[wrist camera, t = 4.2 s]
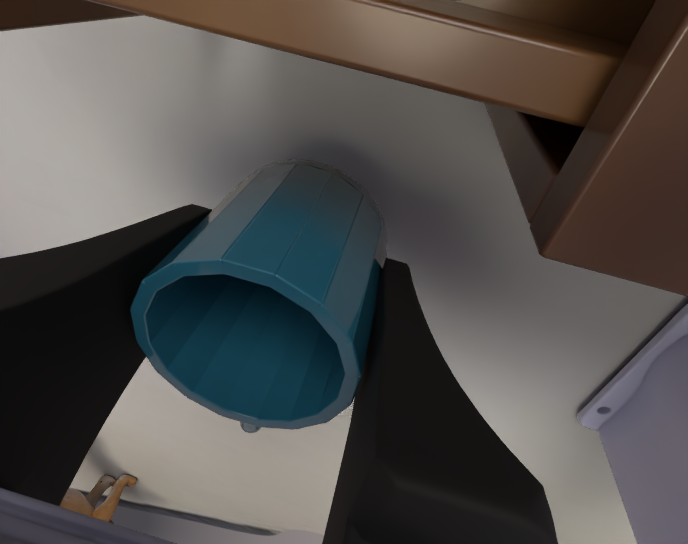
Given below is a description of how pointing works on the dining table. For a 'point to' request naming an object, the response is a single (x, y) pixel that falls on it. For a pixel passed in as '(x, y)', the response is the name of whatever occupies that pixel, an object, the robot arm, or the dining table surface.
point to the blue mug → (269, 299)
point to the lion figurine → (87, 505)
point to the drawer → (413, 40)
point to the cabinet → (614, 165)
